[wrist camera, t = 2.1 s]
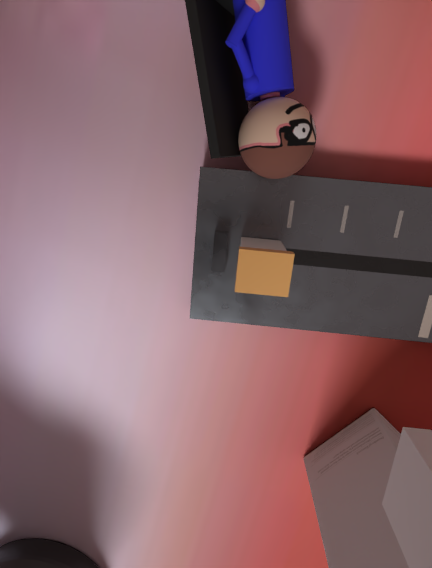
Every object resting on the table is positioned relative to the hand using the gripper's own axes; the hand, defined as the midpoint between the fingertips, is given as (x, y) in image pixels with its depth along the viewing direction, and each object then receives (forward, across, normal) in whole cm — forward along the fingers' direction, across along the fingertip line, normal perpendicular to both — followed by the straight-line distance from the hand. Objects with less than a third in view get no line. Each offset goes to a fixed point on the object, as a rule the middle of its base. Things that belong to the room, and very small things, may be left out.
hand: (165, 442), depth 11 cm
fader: (+19, +4, +2) cm, 19 cm away
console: (+21, +12, +1) cm, 25 cm away
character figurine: (+22, +2, +14) cm, 26 cm away
